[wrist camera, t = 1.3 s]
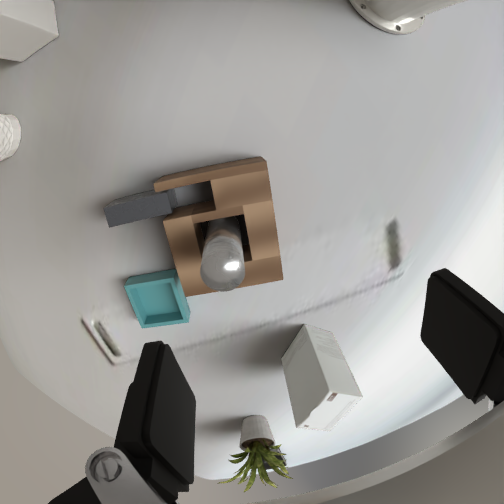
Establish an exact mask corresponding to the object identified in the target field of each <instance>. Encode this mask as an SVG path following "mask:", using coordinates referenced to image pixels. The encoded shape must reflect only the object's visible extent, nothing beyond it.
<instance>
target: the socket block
mask: <svg viewBox="0 0 504 504" xmlns="http://www.w3.org/2000/svg"><path fill="white" fill-rule="evenodd" d="M209 180H210V181H211V186H212V191H213V196H214V200H211V201H206V202H201V203H196V204H191V205H187V206H182V207H177V208H175V209H174V211H173V212H172V213H170V214H167V216H166V217H165V219H164V220H163V224H164V228H165V231H166V235H167V238H168V242H169V246H170V249H171V252H172V256H173V259H174V263H175V266H176V269H177V273H178V276H179V279H180V282H181V285H182V289H183V292H184V295H185V297H188V296H194V295H200V294H206V293H212V292H218V291H216V290H213V289H211V288H209V287H208V286H207V285H206V284H205V283H204V282H203V280H202V278H201V275H200V267H201V262H202V256H203V250H204V245H205V242H204V238H203V233H202V229H201V225H200V222H204V221H209V220H214V219H220V218H225V217H230V216H236V215H241V214H244V217H245V222H246V228H247V233H248V239H249V244H246V245H242V250H243V258H244V266H245V276H244V279H243V281H242V282H241V284H240V285H239V286H238V287H236V288H241V287H246V286H252V285H257V284H263V283H268V282H274V281H279V280H283V273H282V265H281V258H280V250H279V243H278V236H277V229H276V222H275V215H274V208H273V201H272V194H271V188H270V181H269V175H268V168H267V162H266V160H265V159H263V158H262V157H255V158H249V159H243V160H238V161H232V162H227V163H221V164H216V165H211V166H206V167H201V168H197V169H192V170H187V171H183V172H178V173H174V174H170V175H166V176H163V177H161V178H160V179H159V180H157V181H156V182H155V183H154V184H153V185H154V189H155V192H159V191H163V190H168V189H172V188H176V187H181V186H186V185H190V184H195V183H200V182H205V181H209Z"/></svg>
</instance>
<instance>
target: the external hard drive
mask: <svg viewBox="0 0 504 504" xmlns="http://www.w3.org/2000/svg"><path fill="white" fill-rule="evenodd" d="M270 451H274V452H277V453H281V451H280V449H279V448H278V449H273V448H271V449H270ZM274 456H275V457H276V458H277V459H279V460H285V458H284V456H283V455H274ZM261 457H262V456H261ZM253 458H254V457H253ZM262 462H263V465H264V467H265V470H267V469H272V468H271V467H270V466H269V464H268V463H267V462H266V461H265V460H264V459H263V458H262ZM282 463H283V464H284V466H286V465H287V464H286V460H285V461H284V462H282ZM277 468H278V466H277Z"/></svg>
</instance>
